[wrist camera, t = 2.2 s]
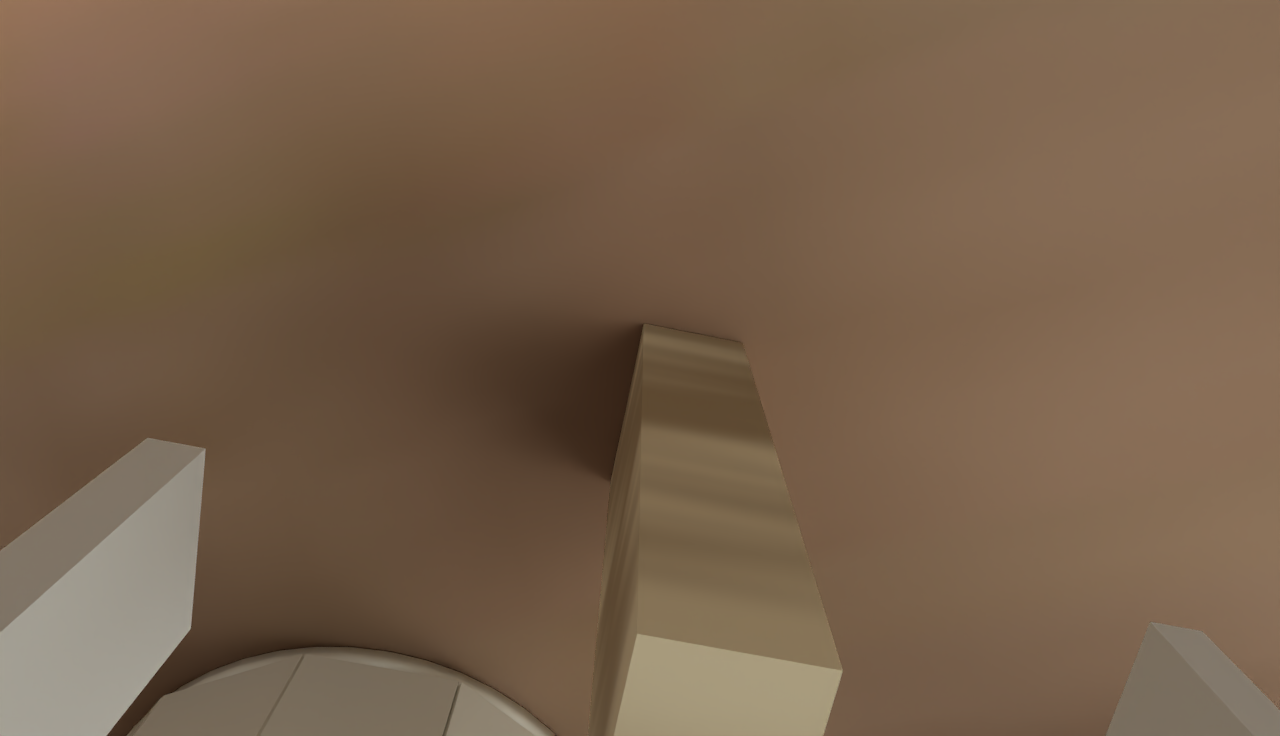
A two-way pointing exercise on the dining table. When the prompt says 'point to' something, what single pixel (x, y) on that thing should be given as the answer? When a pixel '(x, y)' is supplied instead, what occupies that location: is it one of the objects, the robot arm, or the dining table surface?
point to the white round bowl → (336, 699)
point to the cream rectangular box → (705, 562)
